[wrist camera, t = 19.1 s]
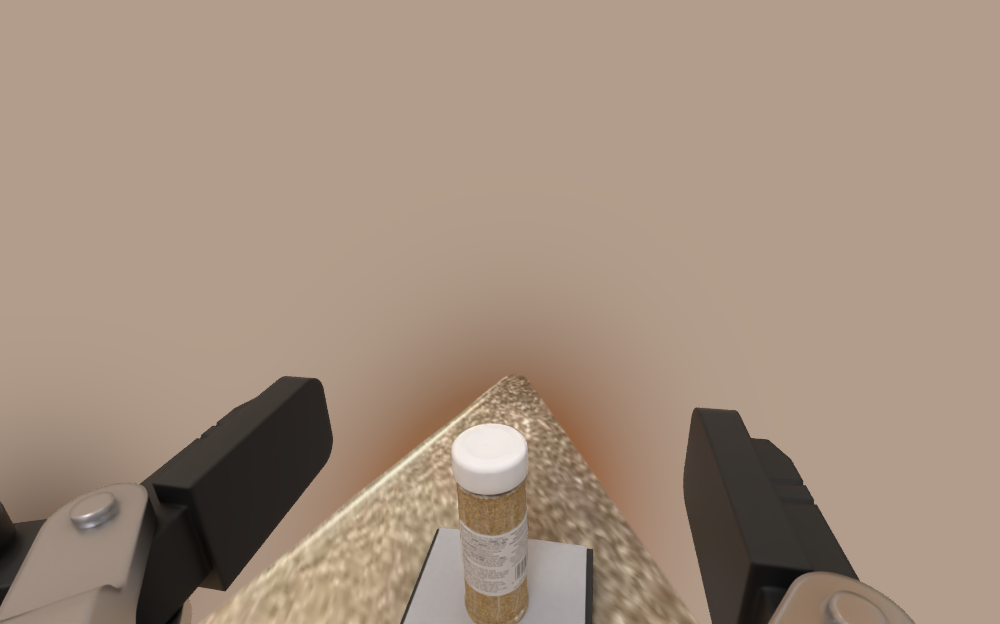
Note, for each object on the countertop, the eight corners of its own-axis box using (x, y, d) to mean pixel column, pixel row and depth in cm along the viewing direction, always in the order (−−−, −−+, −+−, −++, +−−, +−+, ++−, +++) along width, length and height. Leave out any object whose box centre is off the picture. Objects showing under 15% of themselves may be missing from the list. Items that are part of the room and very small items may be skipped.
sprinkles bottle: (491, 563, 36) (483, 412, 31) (542, 595, 34) (542, 436, 29) (450, 609, 33) (434, 448, 28) (503, 649, 30) (496, 480, 25)
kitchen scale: (591, 564, 39) (593, 537, 38) (589, 766, 27) (591, 735, 26) (440, 544, 42) (437, 517, 40) (375, 720, 29) (368, 689, 28)
